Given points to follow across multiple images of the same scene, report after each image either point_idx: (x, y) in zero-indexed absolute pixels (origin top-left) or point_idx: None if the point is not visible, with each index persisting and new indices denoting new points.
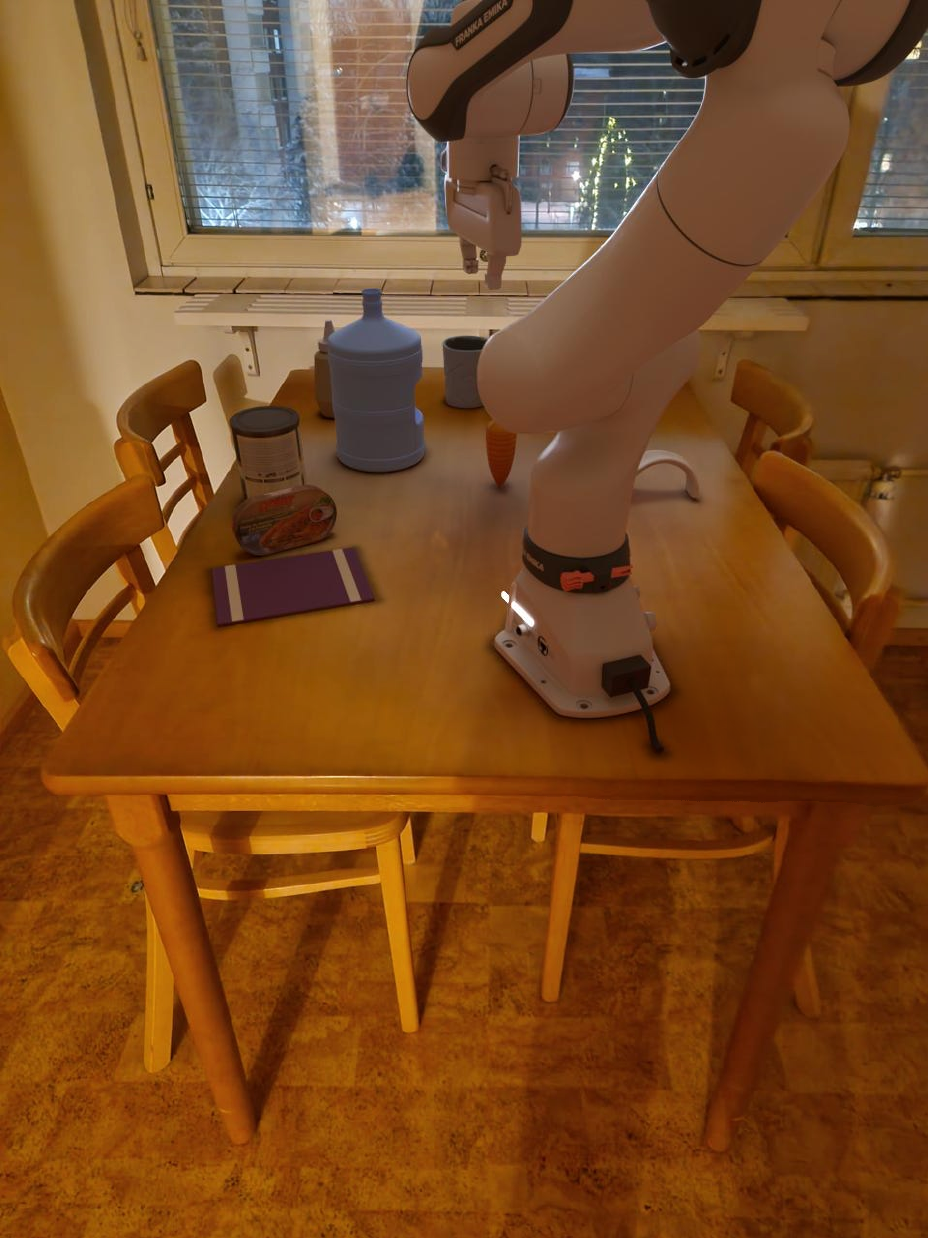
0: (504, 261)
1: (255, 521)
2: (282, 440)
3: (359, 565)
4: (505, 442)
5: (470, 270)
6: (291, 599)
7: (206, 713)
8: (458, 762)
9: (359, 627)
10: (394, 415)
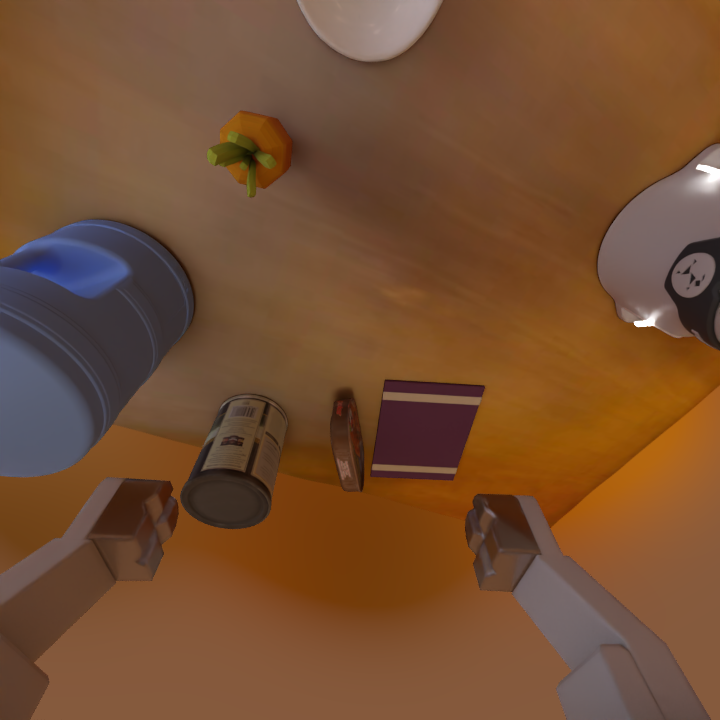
0: (659, 648)
1: (358, 472)
2: (268, 481)
3: (422, 385)
4: (288, 153)
5: (169, 514)
6: (448, 439)
7: (540, 490)
8: (704, 388)
9: (513, 404)
10: (153, 326)
